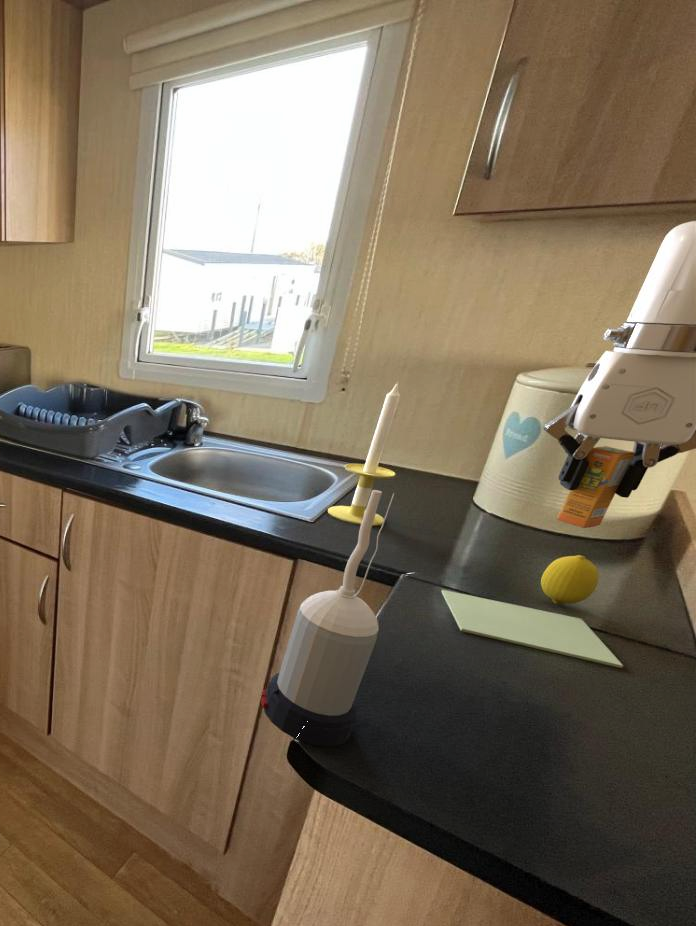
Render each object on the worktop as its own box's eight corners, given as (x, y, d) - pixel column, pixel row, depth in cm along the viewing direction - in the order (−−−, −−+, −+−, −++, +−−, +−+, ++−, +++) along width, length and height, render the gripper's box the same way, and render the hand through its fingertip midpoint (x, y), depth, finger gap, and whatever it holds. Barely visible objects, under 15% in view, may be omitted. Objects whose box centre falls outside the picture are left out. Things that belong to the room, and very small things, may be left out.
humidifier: (245, 695, 60) (304, 478, 50) (309, 686, 62) (378, 474, 52) (299, 752, 53) (381, 511, 43) (369, 740, 54) (463, 506, 45)
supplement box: (553, 519, 73) (587, 446, 69) (570, 517, 74) (604, 445, 70) (583, 529, 70) (620, 453, 66) (601, 526, 71) (638, 452, 67)
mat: (580, 621, 77) (581, 618, 77) (622, 668, 67) (623, 665, 67) (441, 591, 83) (442, 589, 83) (460, 631, 73) (461, 628, 73)
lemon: (566, 598, 83) (591, 550, 80) (592, 617, 78) (619, 567, 75) (523, 591, 84) (546, 544, 81) (546, 610, 79) (570, 561, 76)
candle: (395, 521, 110) (442, 384, 99) (365, 528, 105) (411, 386, 95) (346, 504, 118) (385, 376, 107) (316, 511, 114) (354, 378, 103)
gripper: (581, 338, 64) (518, 487, 71) (797, 349, 57) (702, 513, 64) (557, 335, 70) (500, 472, 77) (749, 344, 63) (667, 494, 70)
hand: (593, 489), depth 70 cm, fingers closed on supplement box, 4 cm apart
